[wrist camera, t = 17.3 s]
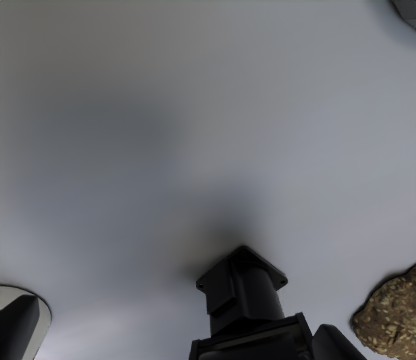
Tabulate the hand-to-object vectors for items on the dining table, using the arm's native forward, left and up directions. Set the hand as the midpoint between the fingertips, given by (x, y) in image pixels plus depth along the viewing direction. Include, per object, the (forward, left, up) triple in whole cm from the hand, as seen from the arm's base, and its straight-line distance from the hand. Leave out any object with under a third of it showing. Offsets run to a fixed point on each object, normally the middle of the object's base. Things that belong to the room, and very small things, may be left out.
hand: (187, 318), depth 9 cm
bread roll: (-29, -4, -13) cm, 32 cm away
